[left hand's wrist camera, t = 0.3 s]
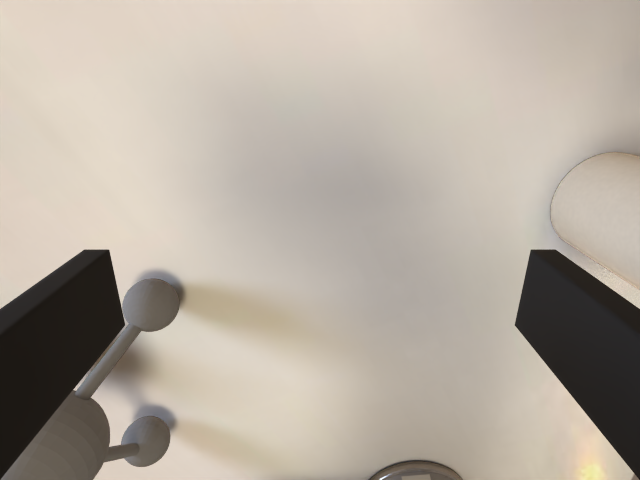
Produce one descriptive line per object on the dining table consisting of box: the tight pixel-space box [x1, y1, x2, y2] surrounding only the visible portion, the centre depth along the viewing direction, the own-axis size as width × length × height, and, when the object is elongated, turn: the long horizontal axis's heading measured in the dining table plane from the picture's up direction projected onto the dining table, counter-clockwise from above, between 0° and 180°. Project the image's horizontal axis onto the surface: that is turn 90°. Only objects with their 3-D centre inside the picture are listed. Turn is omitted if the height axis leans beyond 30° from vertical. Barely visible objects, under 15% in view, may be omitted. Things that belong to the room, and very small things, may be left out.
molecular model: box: [1, 279, 179, 480], centre depth 33 cm, size 24×22×30 cm
